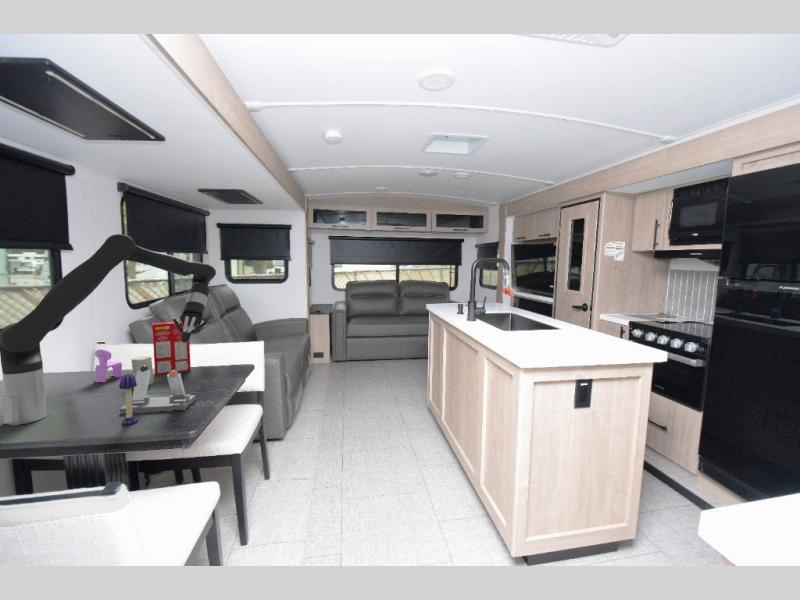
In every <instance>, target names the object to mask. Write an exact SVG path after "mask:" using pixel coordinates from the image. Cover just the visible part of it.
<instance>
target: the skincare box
mask: <svg viewBox="0 0 800 600" xmlns="http://www.w3.org/2000/svg"><path fill="white" fill-rule="evenodd" d="M142 366H147V367H148V370H151V371H150V377H149V383H148V386H149V385H153V384H154V373H153V372H154V370H153V361H152V357H151V356H137V357H136V358H132V359H131V368H132V374H133V375H134V378H135V380H136V375H137V370H140V368H141V367H142Z"/></svg>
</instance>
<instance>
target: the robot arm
mask: <svg viewBox="0 0 800 600" xmlns="http://www.w3.org/2000/svg"><path fill="white" fill-rule="evenodd" d="M123 261H127V262H133V263H139V264H143V265H145V266H150V267H153V268H156V269H159V270H162V271H166V272H168V273H172V274H175V275H178V276H182V277H187V276H189V275H193V276H192V280H191V288H190V290H189V294H188V295H187V298H186V300H185V303H184V308H183V309H182V314H181V315H180V316H179V317H178V318H173V319H172V322H174V324H175V326H176V327H177V329H178V331H179V332H180V333H183V334H182V337H181V340H182V342H183V343H187V342H189V343H190V341H191V337H192V335H197V334H198V333H200V332H201V331H202V330H204V329H205V328H206V327H208V323H207V321H205V320H204V314H205V309H206V306H207V303H208V296H209V294H210V287H209V284H210V282H211V281H212V280H213V279H214V278H215V277H216V275H217V270H216V268H215V267H214V266H212V265H211V264H209V263H205V262H198V261H191V260H186V259H184V258H182V257H177V256H174V255H171V254H166V253H161V252H157V251H153V250H149V249H146V248H144V247H141V246H139V245H136V242H135V240H134V239H133V238H132V237H131V236H129V235H126V234H121V233H117V234H111V235H110V236H108V237H107V238H106V239H105V241H104V242H103V244H101V246H100V247H98V249H97V250H96V252H94V253H93V254H92V255H91V256H90V257H89V258H88V259H86V260H85V261H83V262H82V263H80V264H79V265H78V266H76V267H75V268H73V269H72V270H71V271H69V272H68V273H66V274H65V275H64V276H63V277H62V278H61V279H60V280H59V281H57V282H56V283H54V285H53V286H52V287H51V288H50V289H49V290H48V291H47V293H46V294H45V295H44V296H43V298H42V299H41V301H40V302H39V303H38V305H36V307H34V309H32V310H31V312H29V313H28V314H26V315H25V316H24V317H23V318H22V319H20V320H19V321H17V322H14V323H11V324H8V325H6V326H4V327H3V328H2V329H1V330H0V366H1V372H2V373H1V374H2V381H3V383H2V384H3V391H4V392H3V393H4V394H3V395H1V406H2V416H3V417H2V418H3V423H4V424H6V425H8V426H12V427H15V426H18V425H23V424H29V423H34V422H37V421H40V420H42V419H44V418H45V417H47V416H48V408H47V400H46V388H45V379H44V377H45V376H44V366H43V365H44V363H43V357H42V354H41V352H42V351H41V344H40V343H41V342H42V341H43V339H44V338H45V337H46V336H47V335H48V333H50V332H51V330H52V329H53V328H54V327H55V325H57V323H59V322H60V321H61V320H62V319H64V318H65V317H66V316H67V315H68V314H69V313H71V312H72V311H73V310H75V308H76V307H78V306H79V305H80V304H81V303H82V302H84V300H86V299H87V298H88V297H89V296H90V295H91V294H92V293H93V292H94V291H95V290H96V289H97V288H98V287H99V286H100V284H101V283H102V282H103V281H104V280H105V278H106V277H107V276H108V274H110V273H111V271H112V270H113V269H114V268H116V267H117V266H118V265H120V263H122V262H123ZM180 321H181V322H182V323H183V325H184V329H182V328H181V326H180V325H179V324H180Z"/></svg>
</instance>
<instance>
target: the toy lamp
mask: <svg viewBox="0 0 800 600" xmlns="http://www.w3.org/2000/svg"><path fill="white" fill-rule="evenodd" d="M136 386H137V383H136V380H135V378H134V375H133V373H126V374H122V377H120V381H119V386H118V388H119V389H120V390H124V391H125V394H124V395H125V405H126V409H127V410H126V413H127V414H125V418H124V419H123V420H122V422H121V425H122V426H125V425H126V426H131V425H134V424H136V423H139V421H138V418H137V417H136V416H133V413H132V397H133V392H132V389H134V387H136Z"/></svg>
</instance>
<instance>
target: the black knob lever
mask: <svg viewBox="0 0 800 600" xmlns="http://www.w3.org/2000/svg"><path fill="white" fill-rule="evenodd" d="M150 371H151V370H148V367H147V366H142V367H141V368H140V370H137V375H136V383H137V386H136V387H133V392H132V402H138V401H145V400H144V398H145V397H147V396H148V395H147V394H148V389H149V388H148V387H149V385H148V383H149V377H150Z"/></svg>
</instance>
